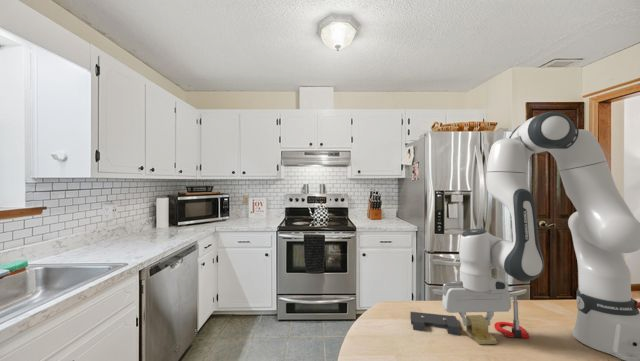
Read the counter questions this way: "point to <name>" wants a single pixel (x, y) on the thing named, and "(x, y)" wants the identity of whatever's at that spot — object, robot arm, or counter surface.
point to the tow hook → (513, 324)
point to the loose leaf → (479, 329)
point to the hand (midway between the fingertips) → (476, 324)
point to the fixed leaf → (435, 322)
